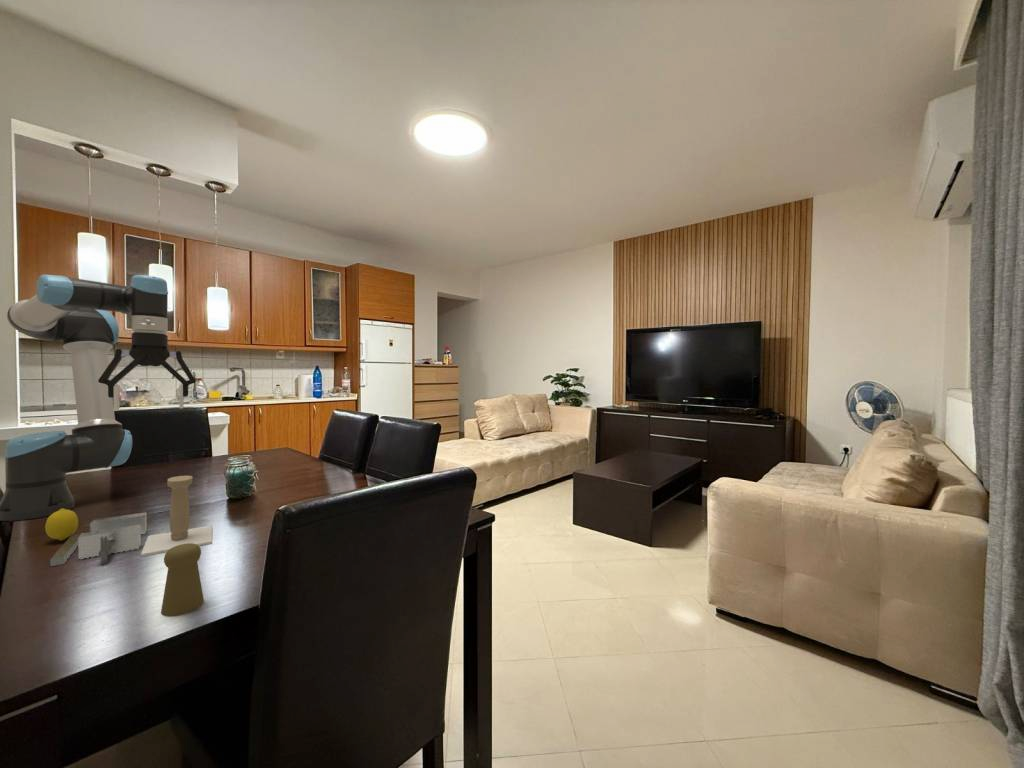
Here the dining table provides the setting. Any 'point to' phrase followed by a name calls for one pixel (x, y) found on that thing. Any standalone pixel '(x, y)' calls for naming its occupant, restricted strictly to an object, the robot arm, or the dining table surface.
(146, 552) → the mat
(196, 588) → the cork
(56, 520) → the lemon
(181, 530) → the handle
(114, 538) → the vise
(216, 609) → the dining table surface
